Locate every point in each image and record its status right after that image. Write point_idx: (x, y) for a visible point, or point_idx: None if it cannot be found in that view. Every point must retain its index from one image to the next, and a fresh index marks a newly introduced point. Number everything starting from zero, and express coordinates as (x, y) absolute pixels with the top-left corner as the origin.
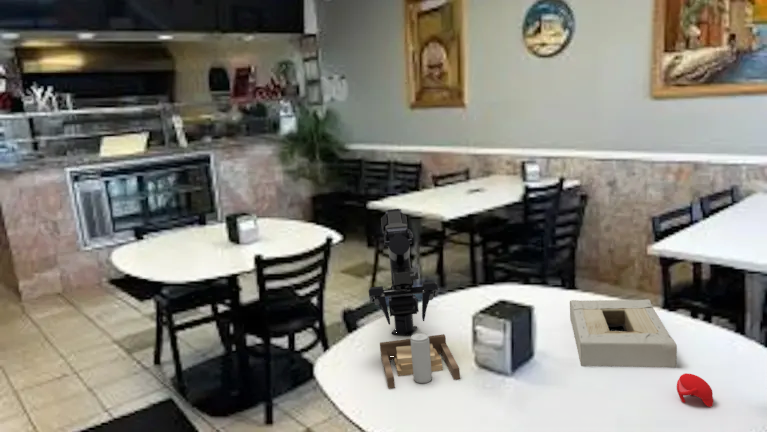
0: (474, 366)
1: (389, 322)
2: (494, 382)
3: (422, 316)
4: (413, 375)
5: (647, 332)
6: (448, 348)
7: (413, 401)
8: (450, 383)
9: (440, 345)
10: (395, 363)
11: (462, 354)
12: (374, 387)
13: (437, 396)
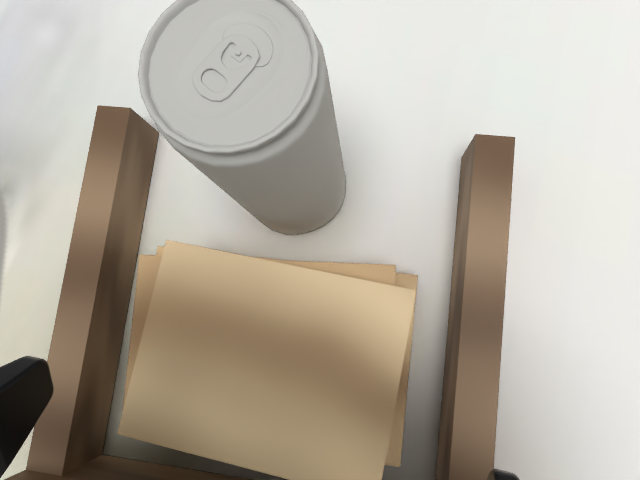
0: (14, 226)
1: (504, 476)
2: (11, 48)
3: (5, 385)
4: (344, 188)
5: None
6: None
7: (403, 5)
8: None
9: (70, 471)
10: (407, 384)
11: None
12: (570, 202)
13: None
